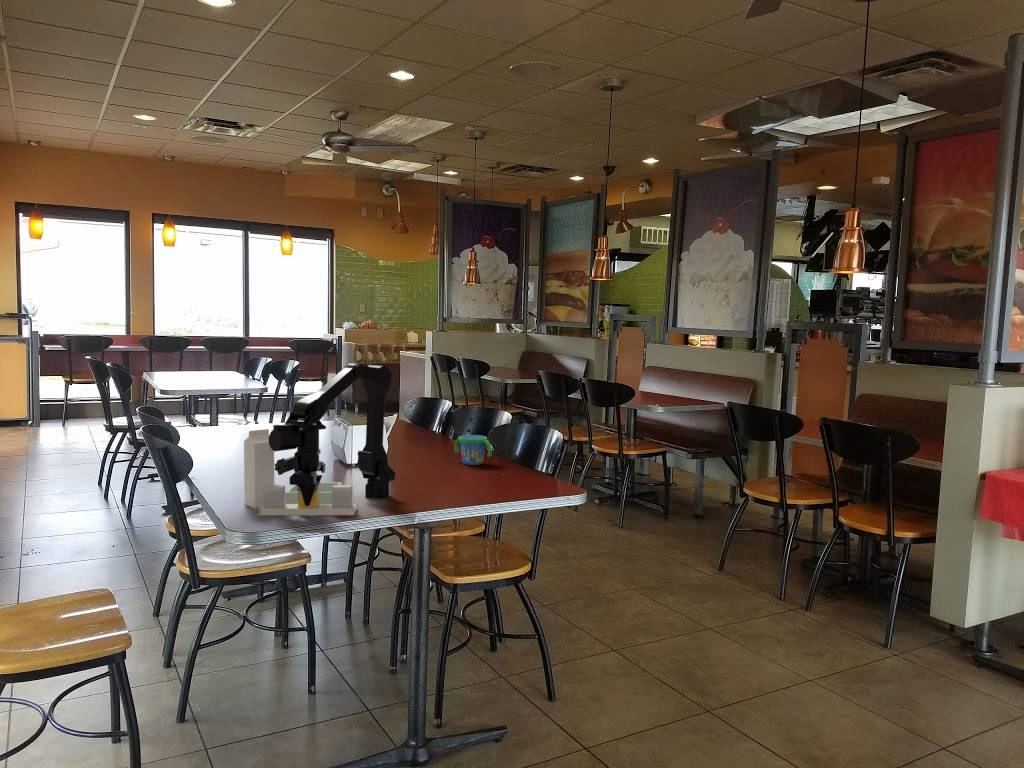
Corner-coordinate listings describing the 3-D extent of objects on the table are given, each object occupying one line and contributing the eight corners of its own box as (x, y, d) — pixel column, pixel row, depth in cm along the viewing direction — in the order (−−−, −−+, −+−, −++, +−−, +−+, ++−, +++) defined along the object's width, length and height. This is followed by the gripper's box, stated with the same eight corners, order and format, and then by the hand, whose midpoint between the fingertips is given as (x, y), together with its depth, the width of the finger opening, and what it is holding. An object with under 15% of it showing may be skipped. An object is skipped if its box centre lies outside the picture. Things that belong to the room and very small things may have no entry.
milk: (274, 508, 211) (274, 430, 209) (254, 512, 207) (254, 432, 205) (264, 504, 215) (263, 427, 214) (243, 507, 211) (243, 429, 209)
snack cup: (497, 464, 282) (498, 437, 281) (479, 468, 274) (480, 440, 273) (466, 459, 292) (466, 433, 291) (447, 463, 283) (447, 436, 282)
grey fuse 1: (285, 510, 205) (284, 484, 205) (282, 513, 202) (282, 487, 202) (266, 510, 205) (266, 484, 204) (263, 513, 202) (263, 487, 201)
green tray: (341, 497, 226) (341, 482, 225) (334, 508, 212) (334, 492, 212) (295, 497, 225) (295, 482, 224) (285, 508, 211) (285, 492, 211)
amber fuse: (318, 510, 206) (318, 484, 205) (316, 513, 203) (316, 487, 202) (300, 510, 205) (300, 484, 205) (297, 513, 202) (297, 487, 202)
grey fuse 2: (352, 510, 206) (352, 484, 206) (350, 513, 203) (350, 487, 203) (333, 510, 206) (333, 484, 206) (331, 513, 203) (331, 487, 203)
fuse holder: (357, 512, 209) (357, 503, 208) (353, 518, 202) (353, 509, 201) (264, 512, 207) (263, 503, 206) (257, 518, 200) (257, 509, 200)
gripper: (285, 441, 211) (285, 496, 213) (268, 452, 193) (269, 513, 194) (325, 441, 212) (325, 496, 213) (313, 453, 194) (313, 513, 195)
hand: (308, 504), depth 204 cm, fingers closed on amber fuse, 3 cm apart
